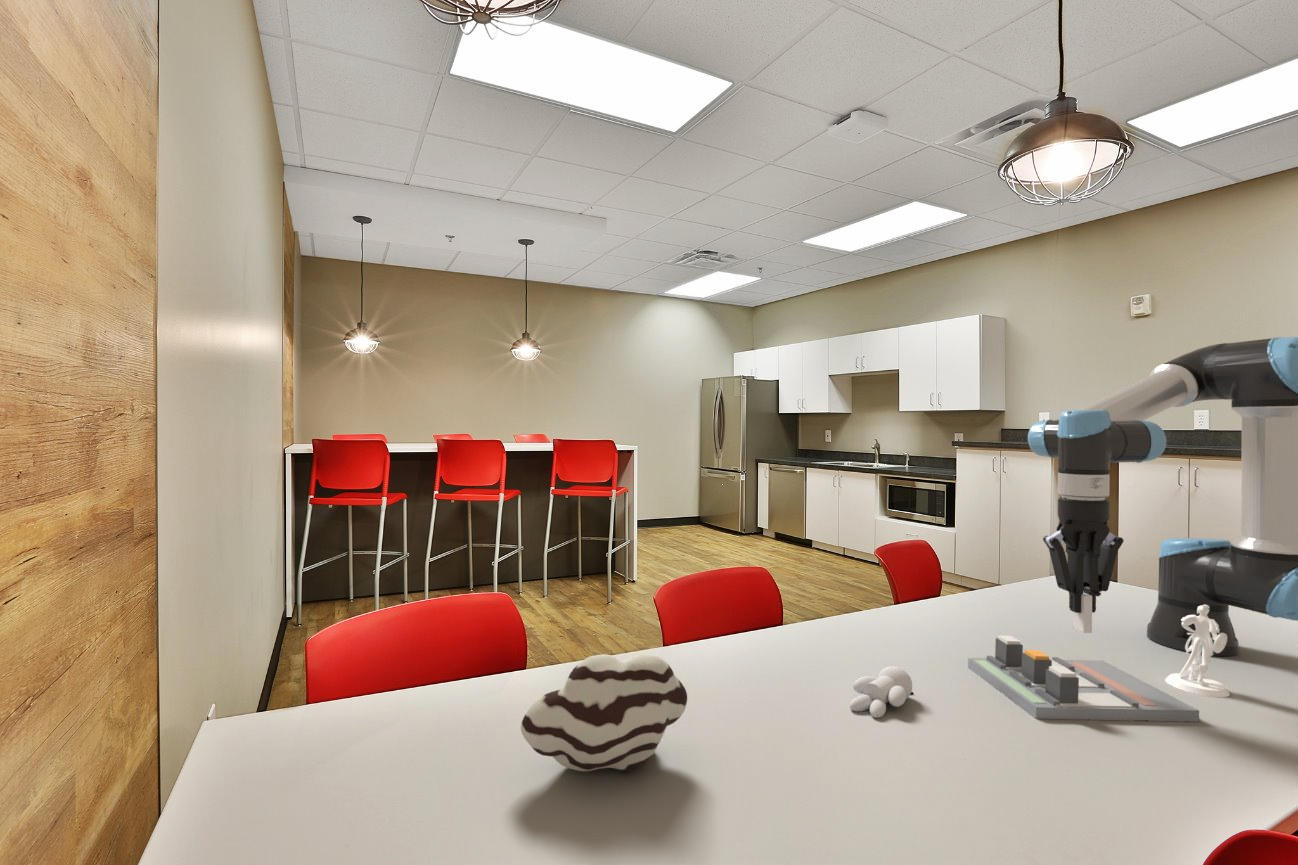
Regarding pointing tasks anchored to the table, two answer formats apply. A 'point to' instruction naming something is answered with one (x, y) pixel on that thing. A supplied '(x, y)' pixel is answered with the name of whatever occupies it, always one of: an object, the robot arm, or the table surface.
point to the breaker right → (1062, 684)
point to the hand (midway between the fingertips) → (1082, 630)
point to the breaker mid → (1035, 666)
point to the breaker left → (1009, 651)
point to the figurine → (1206, 646)
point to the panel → (1086, 693)
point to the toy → (882, 691)
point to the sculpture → (606, 713)
